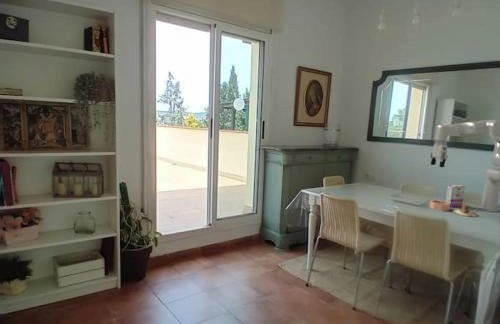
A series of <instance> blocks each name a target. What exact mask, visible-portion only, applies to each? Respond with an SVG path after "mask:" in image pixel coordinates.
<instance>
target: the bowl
mask: <svg viewBox="0 0 500 324" xmlns="http://www.w3.org/2000/svg"><path fill="white" fill-rule="evenodd" d="M428 207H429V208H430V209H432V210H435V211H441V212H448V211H450V209H451V207H450V203H448V202H446V200H439V199H431V200H430V201H429V206H428Z"/></svg>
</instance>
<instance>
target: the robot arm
mask: <svg viewBox="0 0 500 324" xmlns="http://www.w3.org/2000/svg"><path fill="white" fill-rule="evenodd" d="M486 132H487V133H489V134H488V135H489V138H490V139H491V140H492V141H493V143H494V149H493V152H492V156H491V160H490V162H491V165H493V167H489V168H487V169H486V170H485V171H484V188H483V193H482V199H481V204H480V205H478V209H480V210H484V211H488V212H500V204H499V199H500V120H498V119H483V120H478V121H477V120H475V121H470V122H461V123H459V122H458V123H452V124H438V125H437V126H436V131H435V138H434V144H433V148H432V152H430V158H431V159H430V160H431V161H430V165H431V166H436V163H437V159H439V160H440V162H439V168H445V164H446V161H447V159H448V157H449V155H448V145H447V143H448V139H449V136H451V137H459V136H461V134H464V135H473V134H480V133H486ZM494 166H495V167H494Z"/></svg>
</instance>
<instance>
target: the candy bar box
mask: <svg viewBox="0 0 500 324" xmlns="http://www.w3.org/2000/svg"><path fill="white" fill-rule="evenodd" d="M464 193H465V185H461V184H448V185H447V190H446V197H445V202H448V203H450V208H462V205H463V200H464Z"/></svg>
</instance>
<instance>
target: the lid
mask: <svg viewBox="0 0 500 324" xmlns="http://www.w3.org/2000/svg"><path fill="white" fill-rule="evenodd" d="M470 206H471V205H468V204H462V207H460V209H459V208H457V209H455V208H454V209H453V210H452V213H453V214H456V215H459V216H461V215H462V217H467V218H468V217H469V218H476V216H478V213H475V212H473V211H470V208H471V207H470Z"/></svg>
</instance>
